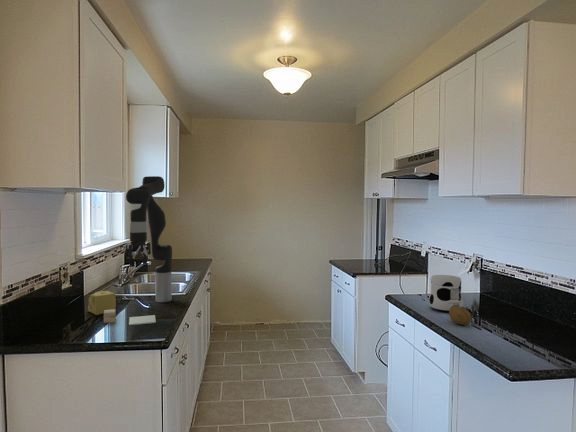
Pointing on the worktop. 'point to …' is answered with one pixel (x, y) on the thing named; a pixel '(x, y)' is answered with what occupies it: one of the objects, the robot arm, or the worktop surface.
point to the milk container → (445, 292)
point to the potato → (460, 315)
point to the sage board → (142, 320)
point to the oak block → (109, 316)
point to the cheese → (101, 302)
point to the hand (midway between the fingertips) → (138, 265)
